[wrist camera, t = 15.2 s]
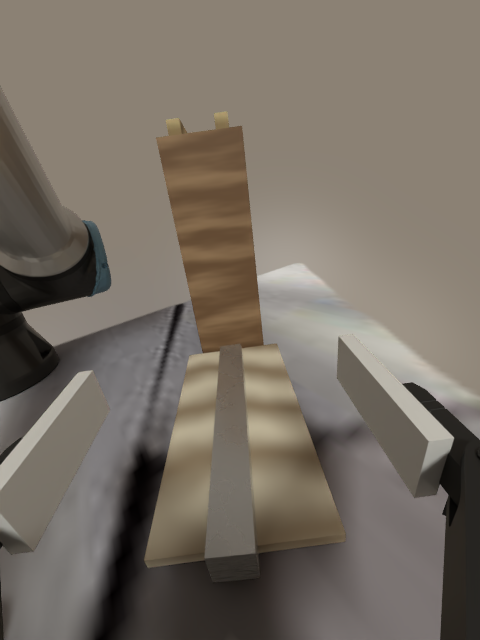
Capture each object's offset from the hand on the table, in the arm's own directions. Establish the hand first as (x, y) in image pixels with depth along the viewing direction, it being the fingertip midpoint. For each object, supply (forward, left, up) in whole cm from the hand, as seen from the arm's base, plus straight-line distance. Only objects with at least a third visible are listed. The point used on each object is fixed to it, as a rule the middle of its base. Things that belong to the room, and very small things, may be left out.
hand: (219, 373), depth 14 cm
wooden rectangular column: (-17, +28, -14) cm, 36 cm away
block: (-5, +7, -13) cm, 16 cm away
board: (-6, +9, -14) cm, 18 cm away
